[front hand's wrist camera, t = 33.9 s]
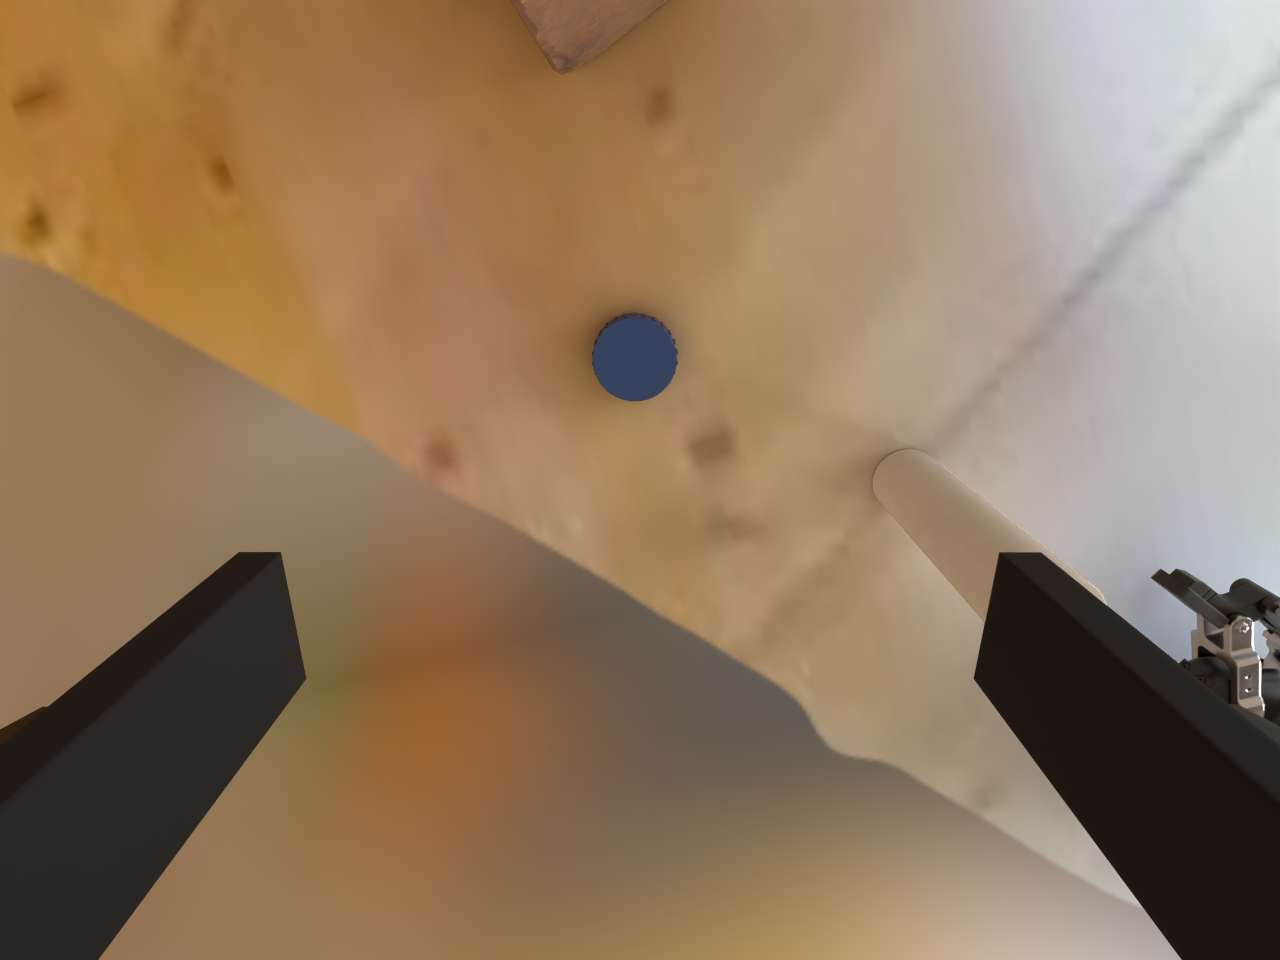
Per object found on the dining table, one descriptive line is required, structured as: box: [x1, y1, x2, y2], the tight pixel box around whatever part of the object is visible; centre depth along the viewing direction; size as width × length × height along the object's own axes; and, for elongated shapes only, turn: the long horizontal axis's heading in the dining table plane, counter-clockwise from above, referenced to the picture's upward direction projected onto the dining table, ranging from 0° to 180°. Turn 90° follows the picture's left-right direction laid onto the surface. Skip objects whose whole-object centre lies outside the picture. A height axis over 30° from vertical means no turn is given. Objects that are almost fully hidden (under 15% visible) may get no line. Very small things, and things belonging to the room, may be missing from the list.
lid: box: [592, 312, 678, 401], centre depth 39 cm, size 5×5×2 cm
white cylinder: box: [872, 449, 1107, 622], centre depth 34 cm, size 4×4×18 cm
